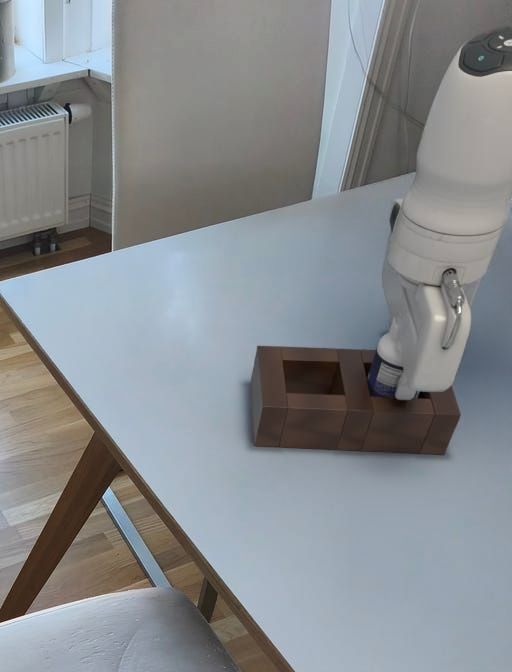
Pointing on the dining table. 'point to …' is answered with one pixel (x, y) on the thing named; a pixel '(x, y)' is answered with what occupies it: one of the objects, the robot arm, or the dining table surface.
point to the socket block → (341, 405)
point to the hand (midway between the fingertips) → (397, 375)
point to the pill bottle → (386, 366)
